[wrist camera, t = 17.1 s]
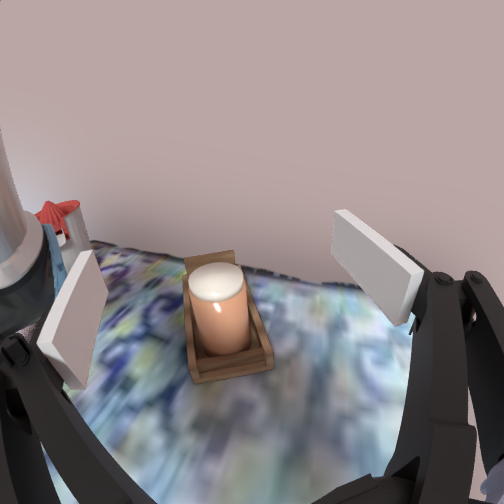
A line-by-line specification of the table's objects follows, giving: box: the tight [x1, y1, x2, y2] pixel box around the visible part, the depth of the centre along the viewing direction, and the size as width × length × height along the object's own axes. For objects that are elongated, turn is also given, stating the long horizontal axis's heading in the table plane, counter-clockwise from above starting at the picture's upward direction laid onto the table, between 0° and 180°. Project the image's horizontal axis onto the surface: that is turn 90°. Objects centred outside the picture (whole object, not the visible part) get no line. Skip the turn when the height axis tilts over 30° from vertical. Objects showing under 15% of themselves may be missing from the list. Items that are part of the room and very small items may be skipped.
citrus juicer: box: [35, 200, 91, 275], centre depth 54 cm, size 16×17×20 cm
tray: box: [182, 250, 274, 384], centre depth 43 cm, size 22×11×7 cm, turn 13°
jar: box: [188, 262, 251, 358], centre depth 36 cm, size 7×7×12 cm
